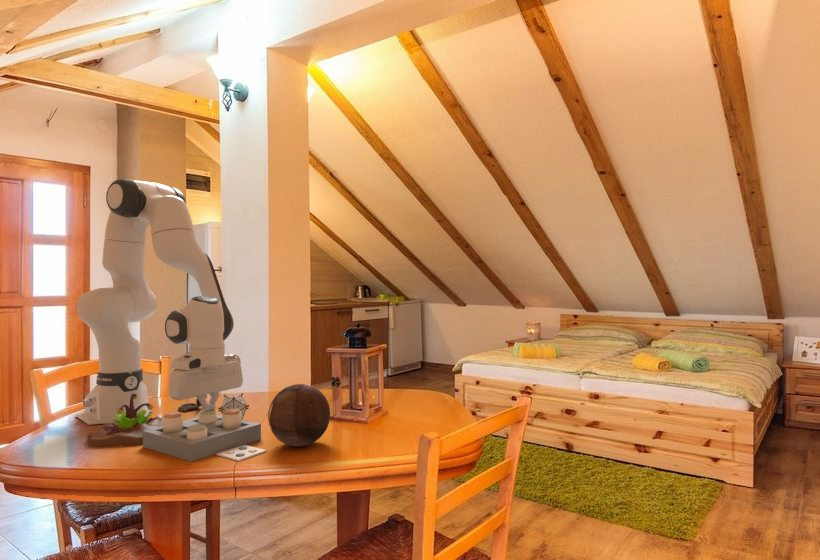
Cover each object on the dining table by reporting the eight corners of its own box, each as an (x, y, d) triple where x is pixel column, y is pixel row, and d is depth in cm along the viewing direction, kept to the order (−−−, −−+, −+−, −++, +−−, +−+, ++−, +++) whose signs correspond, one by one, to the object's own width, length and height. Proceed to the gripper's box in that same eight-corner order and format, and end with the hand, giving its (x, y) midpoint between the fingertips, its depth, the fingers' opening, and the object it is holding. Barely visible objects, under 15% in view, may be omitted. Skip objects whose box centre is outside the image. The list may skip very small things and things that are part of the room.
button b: (195, 432, 146) (194, 411, 146) (210, 428, 150) (209, 407, 150) (205, 435, 144) (205, 413, 144) (221, 431, 147) (220, 409, 147)
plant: (181, 424, 159) (181, 385, 159) (162, 445, 140) (161, 400, 140) (107, 428, 156) (106, 388, 156) (76, 450, 137) (75, 404, 137)
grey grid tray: (142, 447, 137) (142, 430, 137) (212, 427, 154) (212, 413, 154) (191, 461, 126) (190, 444, 126) (261, 439, 142) (260, 423, 142)
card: (216, 455, 130) (216, 452, 130) (244, 446, 137) (244, 444, 137) (238, 461, 126) (238, 459, 126) (266, 451, 132) (266, 449, 132)
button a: (159, 437, 138) (158, 414, 138) (176, 432, 142) (175, 410, 142) (169, 440, 135) (169, 417, 135) (186, 435, 139) (186, 413, 139)
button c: (183, 451, 132) (182, 427, 132) (200, 446, 136) (199, 423, 136) (194, 454, 130) (194, 430, 130) (211, 449, 133) (211, 425, 133)
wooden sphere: (334, 435, 145) (333, 378, 144) (325, 454, 130) (324, 390, 129) (276, 436, 145) (275, 379, 144) (261, 455, 130) (260, 391, 129)
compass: (181, 407, 179) (181, 384, 179) (207, 407, 179) (206, 384, 179) (172, 413, 171) (172, 390, 171) (198, 413, 171) (198, 389, 171)
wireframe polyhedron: (237, 436, 158) (237, 413, 152) (211, 424, 160) (210, 401, 154) (255, 414, 165) (255, 392, 159) (230, 403, 167) (230, 380, 161)
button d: (218, 433, 140) (218, 411, 140) (233, 429, 144) (233, 407, 144) (230, 436, 138) (229, 413, 138) (245, 431, 142) (245, 409, 142)
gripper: (232, 352, 157) (233, 401, 157) (164, 362, 140) (166, 417, 140) (247, 353, 153) (248, 403, 153) (179, 364, 136) (181, 420, 137)
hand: (208, 410), depth 147 cm, fingers closed, pressing on button b
